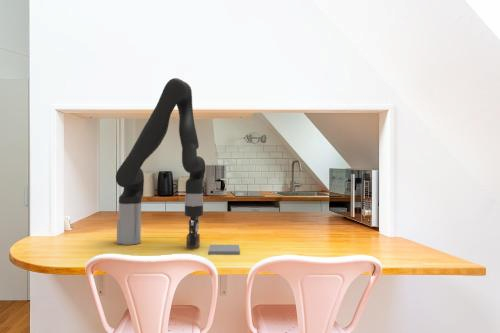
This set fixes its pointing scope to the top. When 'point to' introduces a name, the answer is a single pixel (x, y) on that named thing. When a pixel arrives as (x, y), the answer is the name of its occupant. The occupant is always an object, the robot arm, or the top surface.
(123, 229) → the robot arm
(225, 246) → the plate
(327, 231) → the top surface
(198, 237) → the walnut cube
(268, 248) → the top surface
